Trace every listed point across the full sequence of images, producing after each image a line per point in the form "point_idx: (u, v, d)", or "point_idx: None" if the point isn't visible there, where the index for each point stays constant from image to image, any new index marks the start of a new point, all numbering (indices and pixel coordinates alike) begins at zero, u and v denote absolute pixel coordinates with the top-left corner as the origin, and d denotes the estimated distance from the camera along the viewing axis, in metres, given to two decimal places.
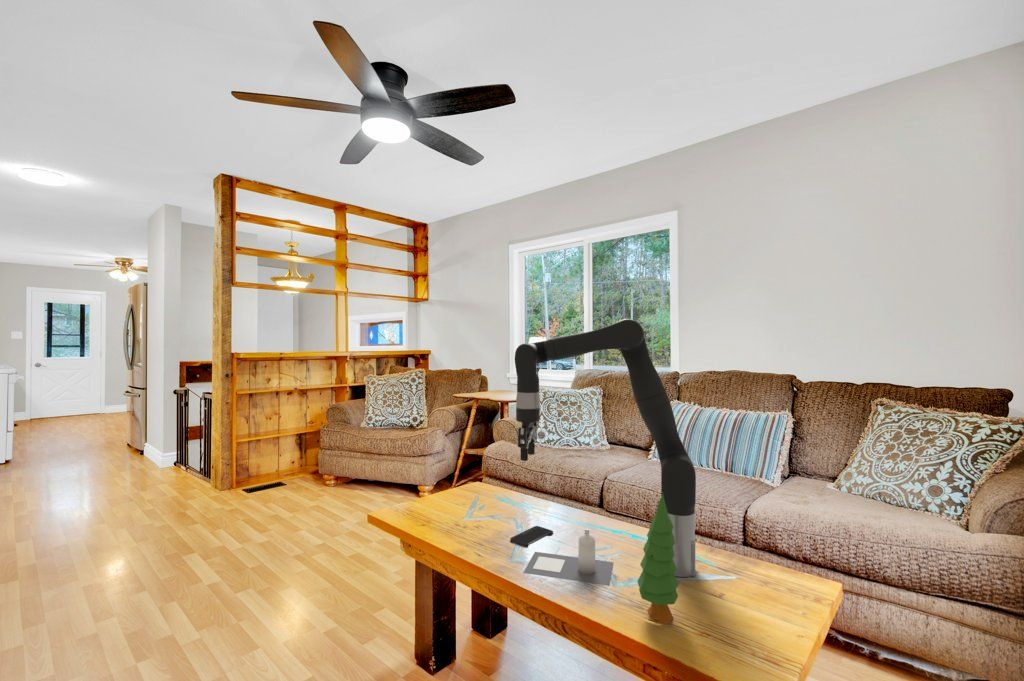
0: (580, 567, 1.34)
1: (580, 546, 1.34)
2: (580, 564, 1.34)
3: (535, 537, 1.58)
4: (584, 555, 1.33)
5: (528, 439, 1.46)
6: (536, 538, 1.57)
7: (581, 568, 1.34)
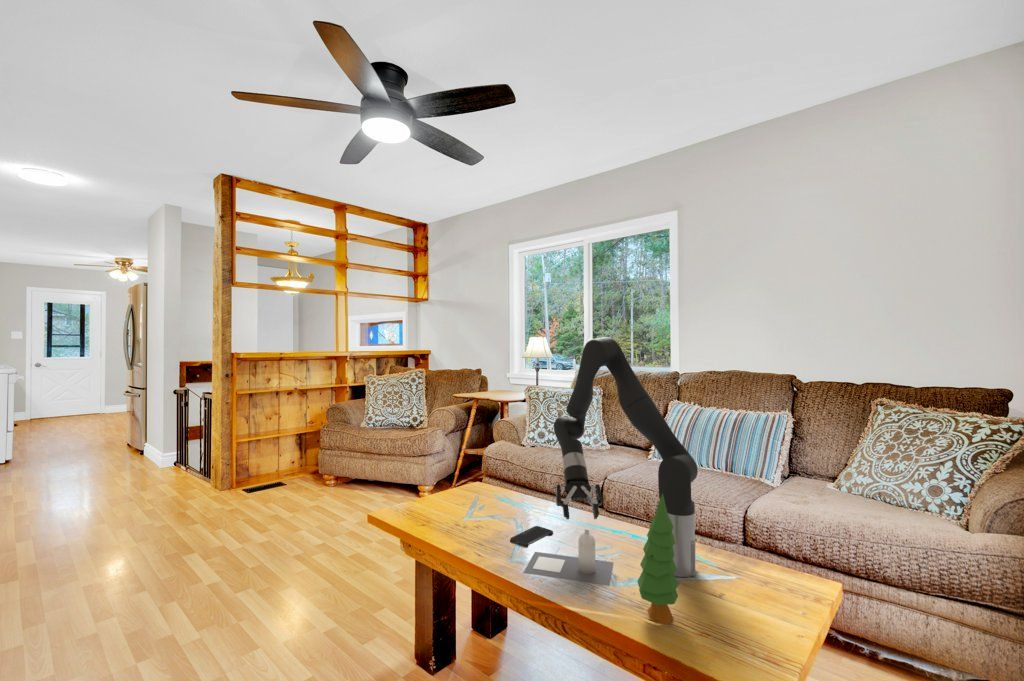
0: (580, 567, 1.34)
1: (580, 546, 1.34)
2: (580, 564, 1.34)
3: (535, 537, 1.58)
4: (584, 555, 1.33)
5: (567, 496, 1.46)
6: (536, 538, 1.57)
7: (581, 568, 1.34)
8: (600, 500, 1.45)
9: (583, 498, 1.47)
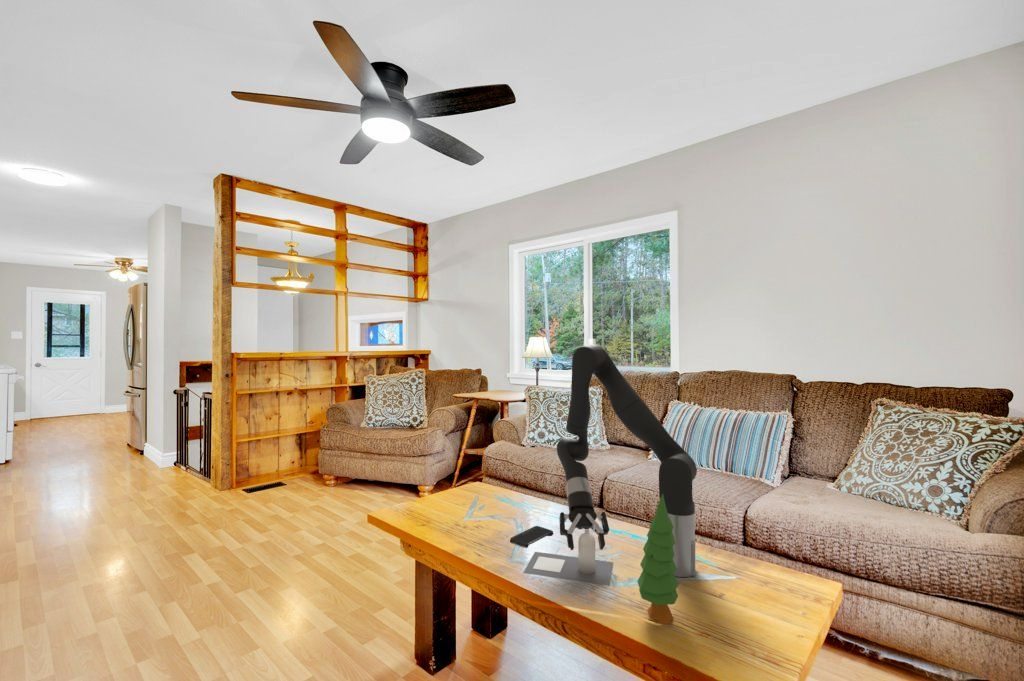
0: (580, 567, 1.34)
1: (580, 546, 1.34)
2: (580, 564, 1.34)
3: (535, 537, 1.58)
4: (584, 555, 1.33)
5: (571, 524, 1.38)
6: (536, 538, 1.57)
7: (581, 568, 1.34)
8: (606, 529, 1.38)
9: (588, 527, 1.39)
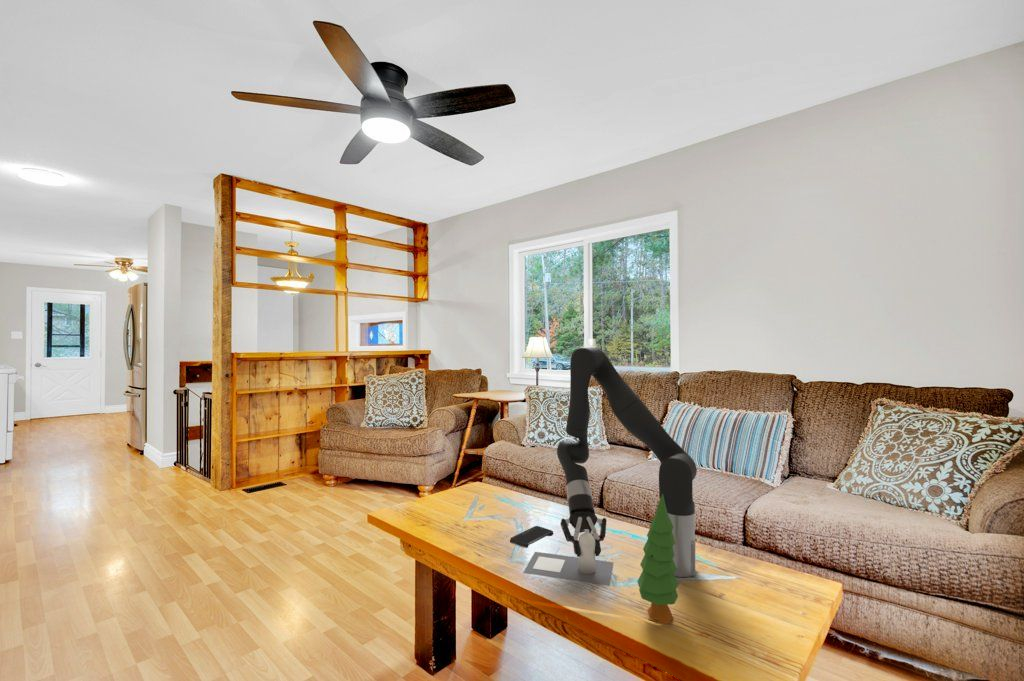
0: (580, 567, 1.34)
1: (580, 546, 1.34)
2: (580, 564, 1.34)
3: (535, 537, 1.58)
4: (584, 555, 1.33)
5: (575, 530, 1.37)
6: (536, 538, 1.57)
7: (581, 568, 1.34)
8: (602, 535, 1.36)
9: None
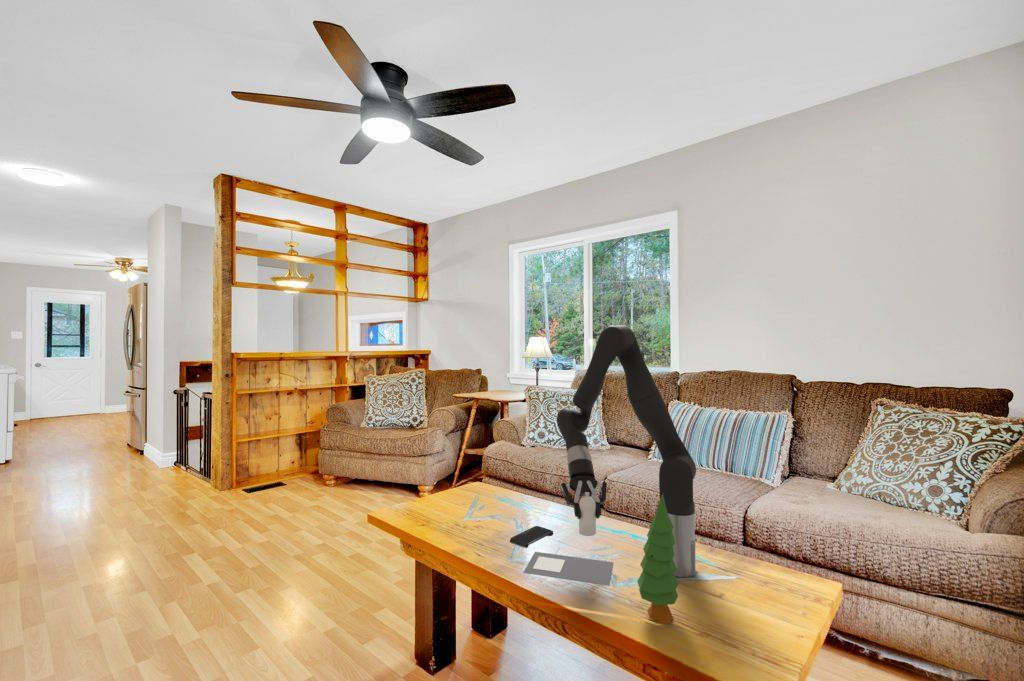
0: (581, 529, 1.34)
1: (580, 509, 1.34)
2: (581, 526, 1.34)
3: (535, 537, 1.58)
4: (584, 517, 1.33)
5: (575, 493, 1.37)
6: (536, 538, 1.57)
7: (582, 530, 1.34)
8: (602, 498, 1.36)
9: None
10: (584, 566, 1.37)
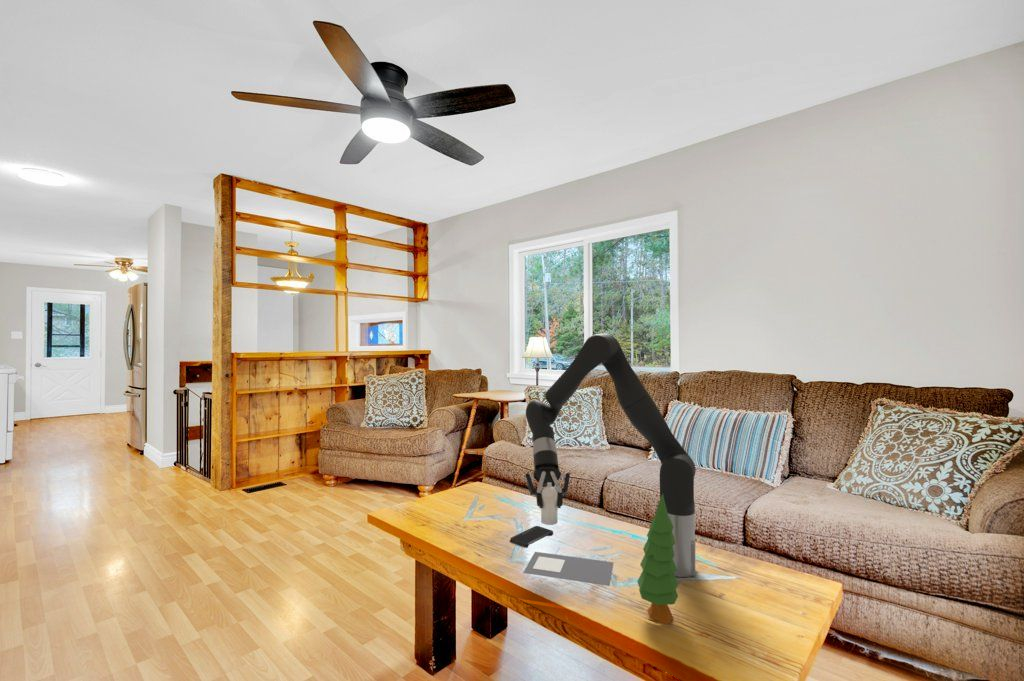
0: (542, 519, 1.37)
1: (542, 498, 1.37)
2: (542, 516, 1.37)
3: (535, 537, 1.58)
4: (546, 506, 1.36)
5: (538, 484, 1.40)
6: (536, 538, 1.57)
7: (543, 519, 1.37)
8: (564, 488, 1.40)
9: None
10: (584, 566, 1.37)
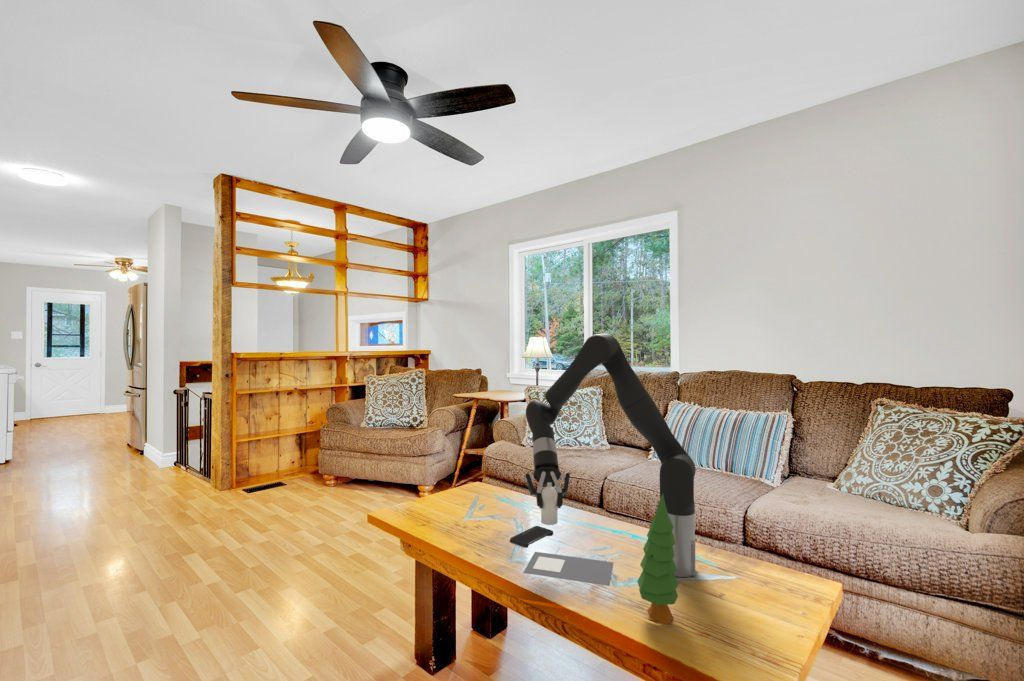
0: (542, 519, 1.37)
1: (542, 498, 1.37)
2: (542, 516, 1.37)
3: (535, 537, 1.58)
4: (546, 506, 1.36)
5: (538, 484, 1.40)
6: (536, 538, 1.57)
7: (543, 520, 1.37)
8: (564, 488, 1.40)
9: None
10: (584, 566, 1.37)
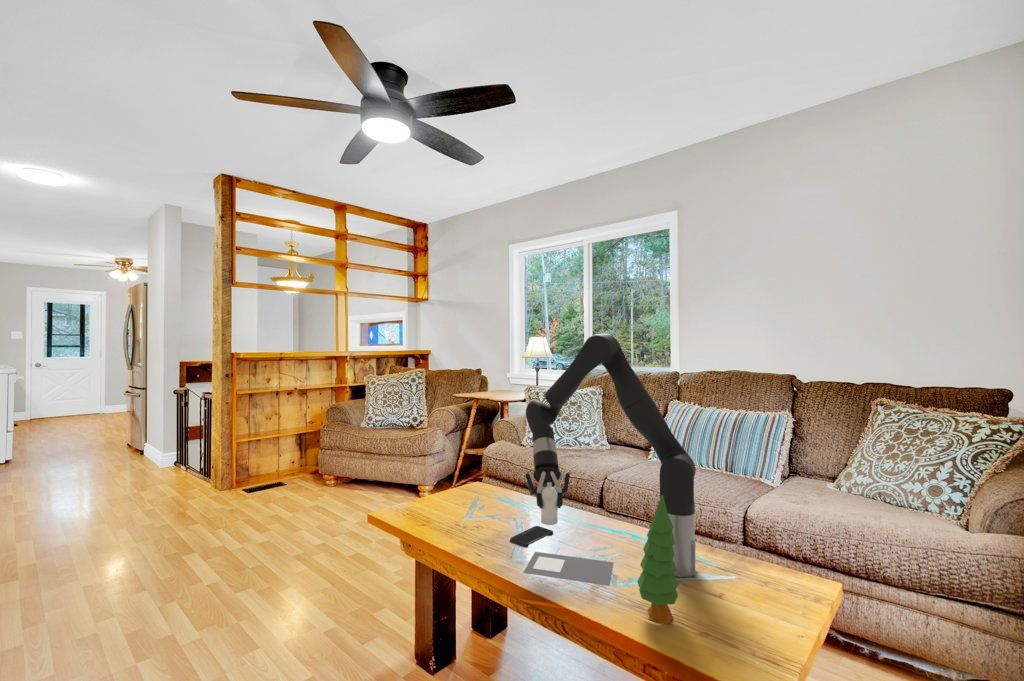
0: (542, 519, 1.37)
1: (542, 498, 1.37)
2: (542, 516, 1.37)
3: (535, 537, 1.58)
4: (546, 506, 1.36)
5: (538, 484, 1.40)
6: (536, 538, 1.57)
7: (543, 520, 1.37)
8: (564, 488, 1.40)
9: None
10: (584, 566, 1.37)
